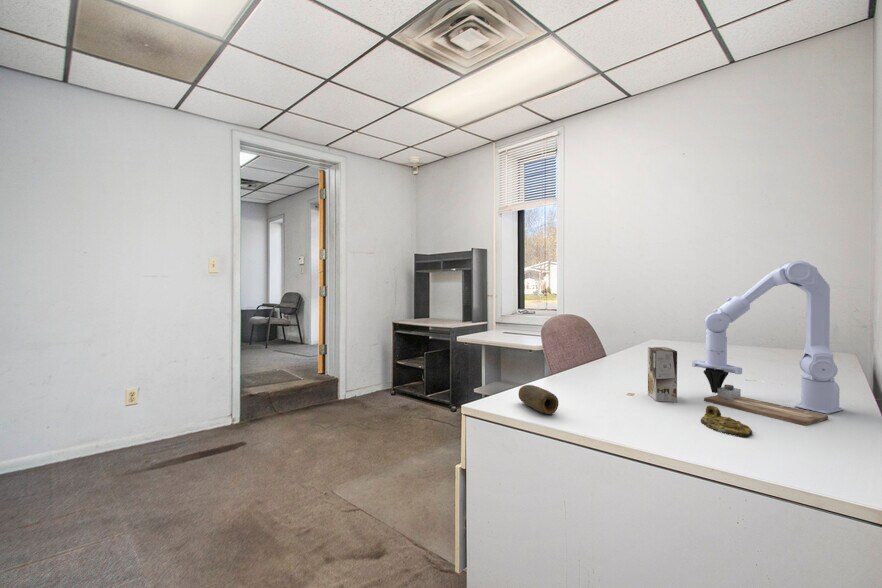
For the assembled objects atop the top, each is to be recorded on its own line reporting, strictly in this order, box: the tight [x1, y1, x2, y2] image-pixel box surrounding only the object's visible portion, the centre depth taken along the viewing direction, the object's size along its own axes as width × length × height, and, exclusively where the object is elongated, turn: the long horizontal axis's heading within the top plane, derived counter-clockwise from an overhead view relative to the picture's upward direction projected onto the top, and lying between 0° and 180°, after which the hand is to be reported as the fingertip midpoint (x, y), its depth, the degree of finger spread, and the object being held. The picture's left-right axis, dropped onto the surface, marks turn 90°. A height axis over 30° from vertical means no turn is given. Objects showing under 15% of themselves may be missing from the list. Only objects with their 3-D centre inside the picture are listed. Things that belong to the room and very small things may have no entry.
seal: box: [700, 404, 753, 438], centre depth 105 cm, size 9×5×15 cm
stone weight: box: [518, 384, 559, 415], centre depth 122 cm, size 15×7×7 cm, turn 20°
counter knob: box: [716, 384, 742, 401], centre depth 129 cm, size 5×4×4 cm
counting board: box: [703, 394, 829, 426], centre depth 120 cm, size 12×26×1 cm, turn 25°
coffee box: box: [647, 346, 678, 403], centre depth 133 cm, size 9×6×16 cm
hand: (715, 392), depth 132 cm, fingers closed
